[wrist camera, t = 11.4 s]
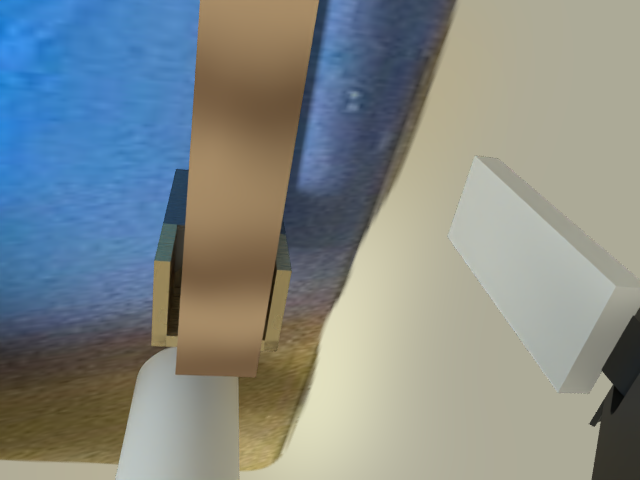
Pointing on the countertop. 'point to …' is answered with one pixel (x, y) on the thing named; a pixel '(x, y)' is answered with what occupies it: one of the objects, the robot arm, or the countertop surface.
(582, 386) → the robot arm
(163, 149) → the countertop surface
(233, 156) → the rail
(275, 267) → the bracket stand
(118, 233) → the countertop surface
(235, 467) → the alcohol
